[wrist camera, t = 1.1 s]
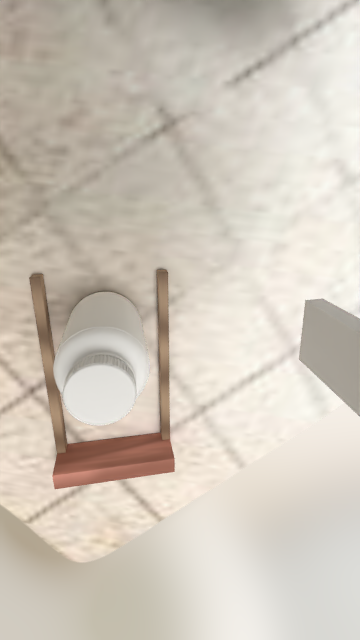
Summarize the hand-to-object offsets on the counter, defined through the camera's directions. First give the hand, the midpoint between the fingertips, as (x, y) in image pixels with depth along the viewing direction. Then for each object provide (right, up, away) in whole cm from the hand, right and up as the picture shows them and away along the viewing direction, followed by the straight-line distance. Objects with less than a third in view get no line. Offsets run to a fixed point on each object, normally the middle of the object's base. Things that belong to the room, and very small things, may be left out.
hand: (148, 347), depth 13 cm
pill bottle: (-7, +1, +25) cm, 26 cm away
